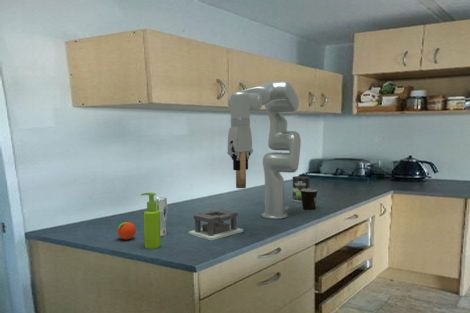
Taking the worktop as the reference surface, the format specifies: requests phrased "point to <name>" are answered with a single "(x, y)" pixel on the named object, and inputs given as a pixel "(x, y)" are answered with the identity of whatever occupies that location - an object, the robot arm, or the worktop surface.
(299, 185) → the coffee can
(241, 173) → the thermos bottle
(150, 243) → the soap dispenser
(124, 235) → the clementine
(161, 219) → the beer glass
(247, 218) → the worktop surface
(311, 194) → the coffee mug
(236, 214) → the collar stand
